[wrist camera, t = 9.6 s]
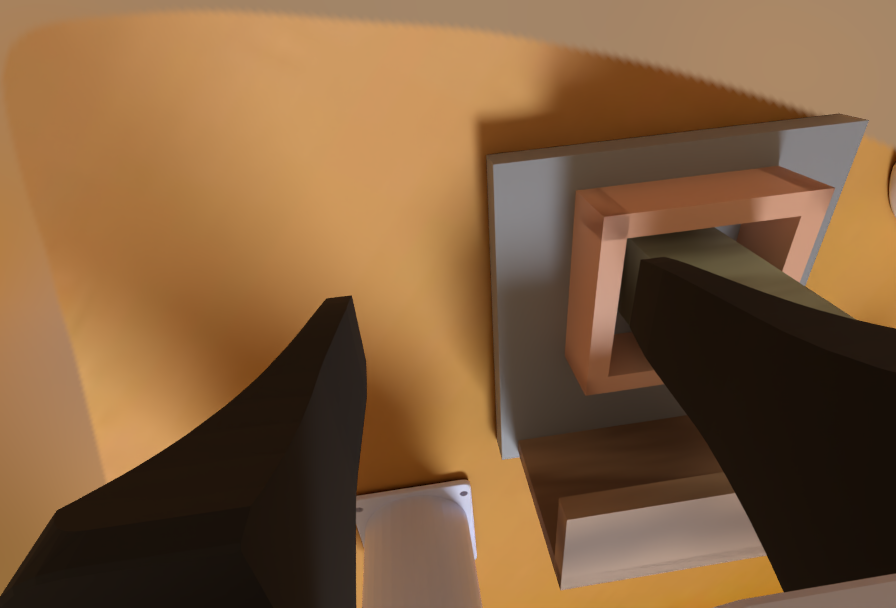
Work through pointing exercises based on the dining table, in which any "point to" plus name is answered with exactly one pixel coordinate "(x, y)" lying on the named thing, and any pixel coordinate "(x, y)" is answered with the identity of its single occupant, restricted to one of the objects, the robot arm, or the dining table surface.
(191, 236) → the dining table surface
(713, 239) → the peg
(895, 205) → the eye dropper bottle
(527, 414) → the socket stand
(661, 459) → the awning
